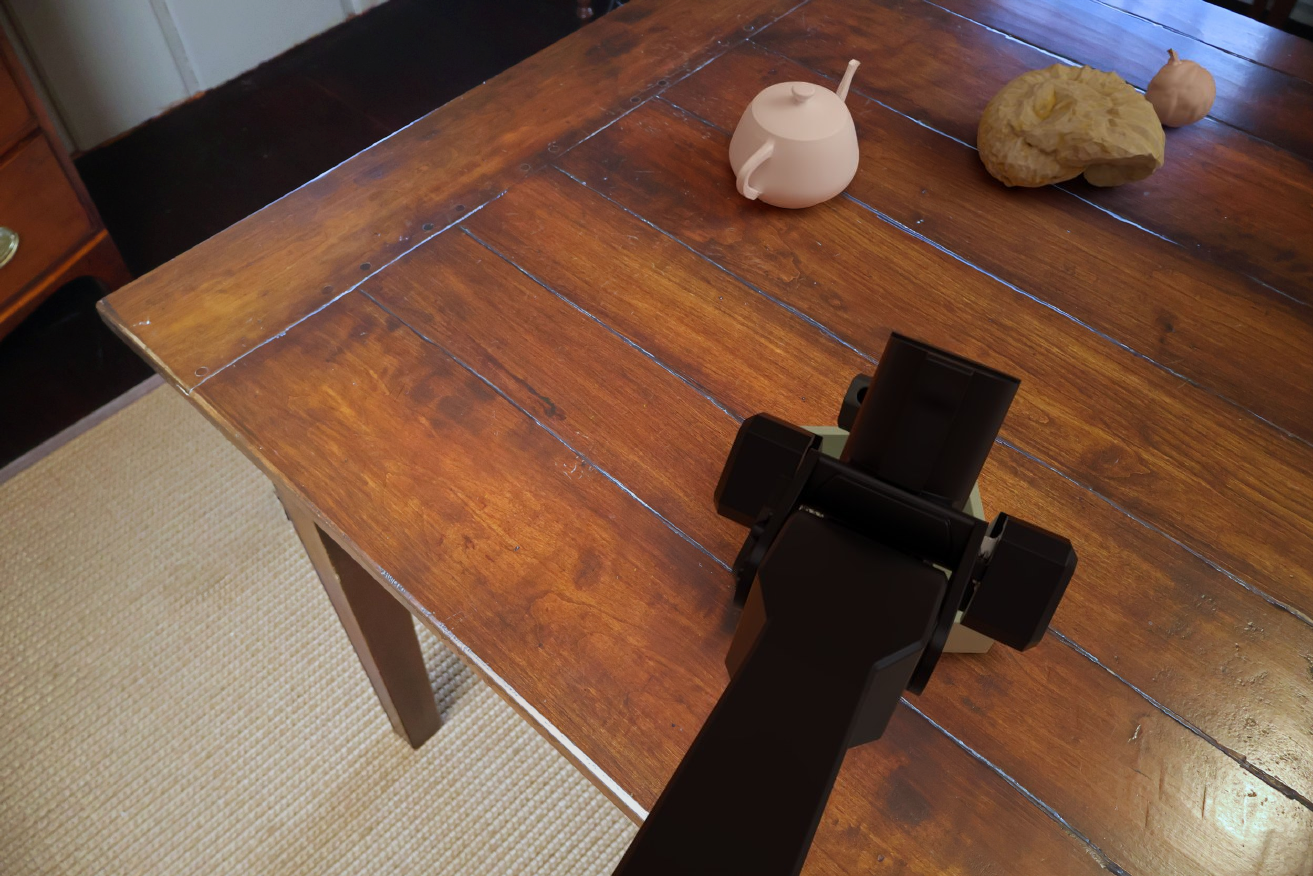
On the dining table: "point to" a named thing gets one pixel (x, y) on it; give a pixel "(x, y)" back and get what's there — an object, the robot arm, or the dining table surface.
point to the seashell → (1070, 129)
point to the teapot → (796, 144)
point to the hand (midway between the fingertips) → (899, 502)
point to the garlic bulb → (1181, 92)
